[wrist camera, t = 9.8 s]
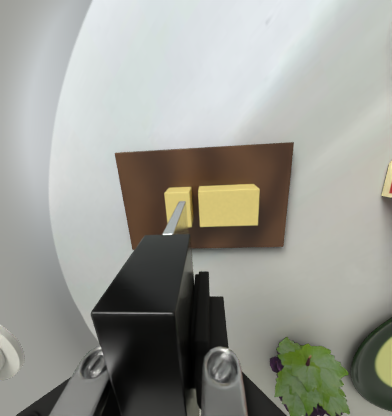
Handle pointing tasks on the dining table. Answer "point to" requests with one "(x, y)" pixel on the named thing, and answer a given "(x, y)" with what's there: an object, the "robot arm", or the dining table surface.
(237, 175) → the butter board
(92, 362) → the robot arm
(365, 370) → the plate
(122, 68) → the dining table surface
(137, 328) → the knife
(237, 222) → the butter
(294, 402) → the fruit
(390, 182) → the milk carton
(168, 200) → the butter pat
